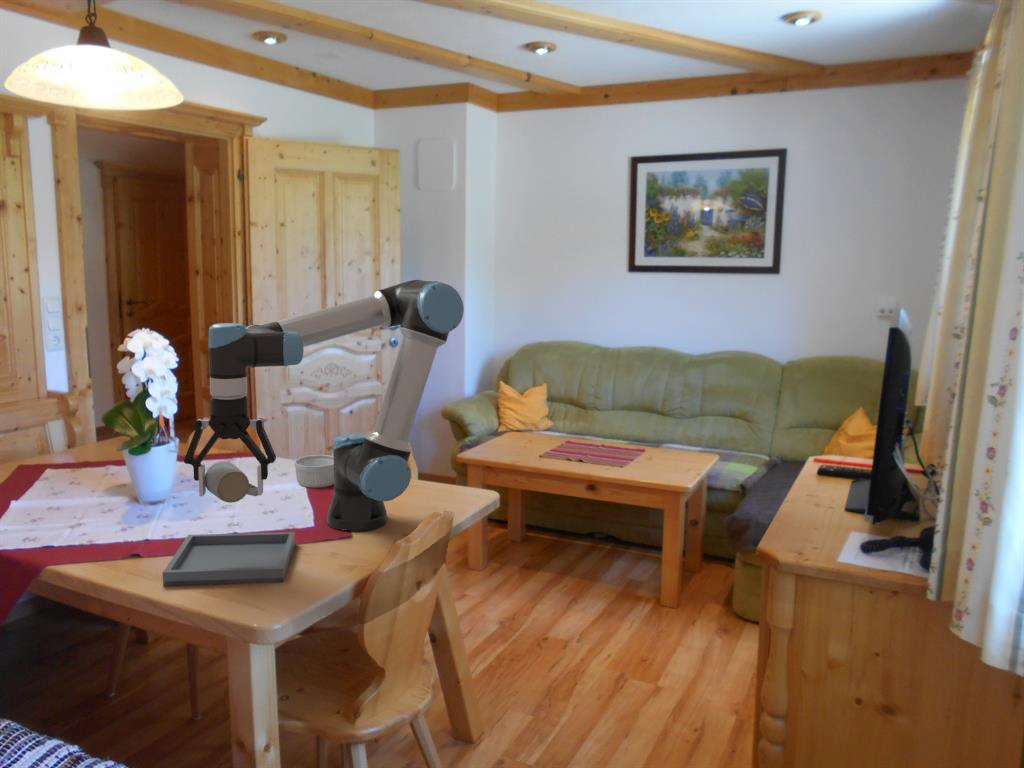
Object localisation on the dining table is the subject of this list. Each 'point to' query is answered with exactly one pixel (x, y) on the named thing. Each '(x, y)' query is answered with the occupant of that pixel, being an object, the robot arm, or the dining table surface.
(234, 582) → the slate tray
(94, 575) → the dining table surface
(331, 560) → the dining table surface
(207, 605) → the dining table surface
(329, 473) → the ramekin
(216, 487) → the ceramic mug
